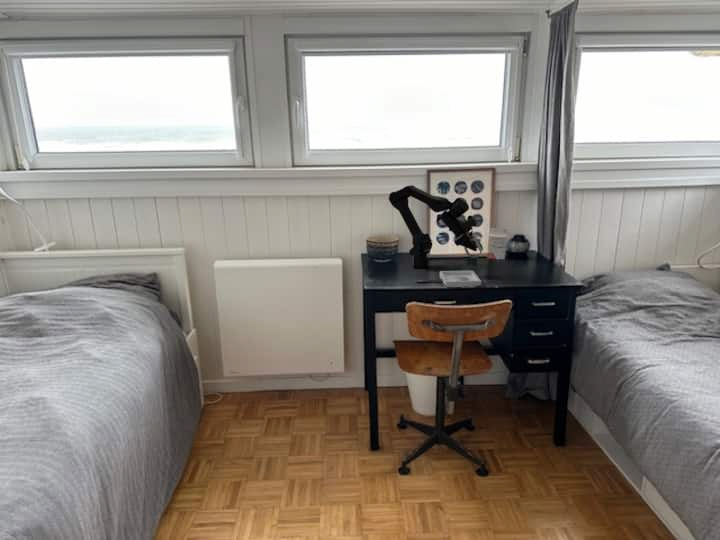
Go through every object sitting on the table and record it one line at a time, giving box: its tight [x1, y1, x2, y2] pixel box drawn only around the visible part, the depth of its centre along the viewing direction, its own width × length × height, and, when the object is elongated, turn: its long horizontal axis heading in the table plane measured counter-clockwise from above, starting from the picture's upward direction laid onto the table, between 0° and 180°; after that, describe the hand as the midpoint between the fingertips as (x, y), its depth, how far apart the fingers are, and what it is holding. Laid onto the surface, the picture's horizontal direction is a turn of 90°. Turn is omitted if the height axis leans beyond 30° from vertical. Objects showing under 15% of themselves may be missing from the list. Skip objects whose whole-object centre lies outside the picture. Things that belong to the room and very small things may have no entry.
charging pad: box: [415, 270, 482, 286], centre depth 209 cm, size 26×15×3 cm, turn 91°
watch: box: [463, 238, 484, 266], centre depth 214 cm, size 6×8×11 cm
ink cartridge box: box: [486, 227, 508, 261], centre depth 241 cm, size 9×5×15 cm, turn 71°
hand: (476, 249), depth 213 cm, fingers closed on watch, 5 cm apart
